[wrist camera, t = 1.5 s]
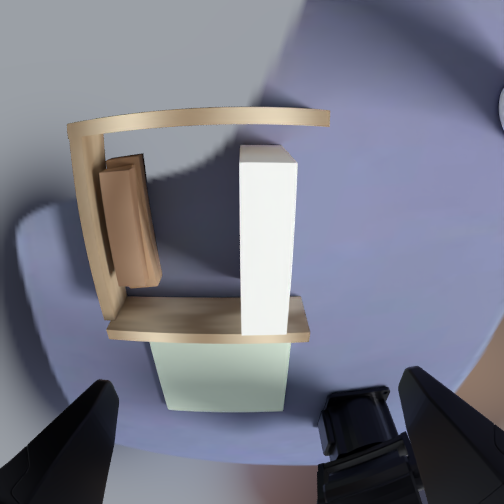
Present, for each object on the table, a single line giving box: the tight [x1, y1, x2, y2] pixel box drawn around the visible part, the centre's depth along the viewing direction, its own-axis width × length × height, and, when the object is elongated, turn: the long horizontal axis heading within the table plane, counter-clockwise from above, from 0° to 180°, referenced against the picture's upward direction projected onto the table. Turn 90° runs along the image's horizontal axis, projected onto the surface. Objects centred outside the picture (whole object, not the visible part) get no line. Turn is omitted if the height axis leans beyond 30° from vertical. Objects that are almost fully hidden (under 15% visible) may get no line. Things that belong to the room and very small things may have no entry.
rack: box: [67, 107, 330, 344], centre depth 18 cm, size 14×14×4 cm
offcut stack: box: [99, 153, 162, 288], centre depth 19 cm, size 2×8×3 cm, turn 3°
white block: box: [239, 145, 298, 336], centre depth 18 cm, size 2×9×6 cm, turn 0°
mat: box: [150, 342, 291, 412], centre depth 26 cm, size 11×11×1 cm
